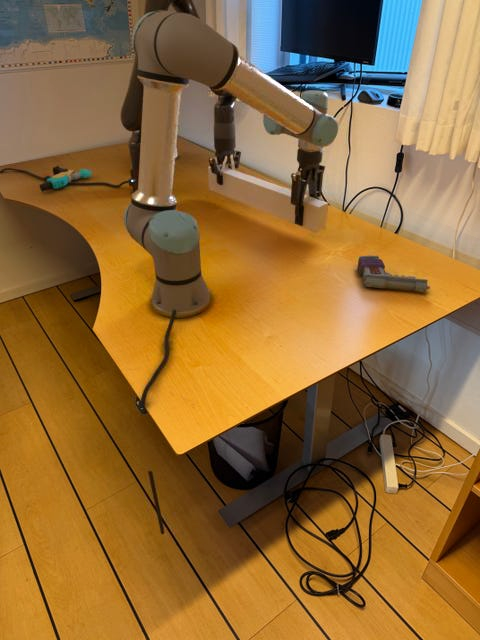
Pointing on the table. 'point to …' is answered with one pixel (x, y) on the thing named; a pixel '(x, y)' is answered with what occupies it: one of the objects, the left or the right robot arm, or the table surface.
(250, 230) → the table surface
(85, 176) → the toy gun
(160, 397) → the table surface
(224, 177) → the bar
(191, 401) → the table surface
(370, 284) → the toy gun
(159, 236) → the right robot arm
